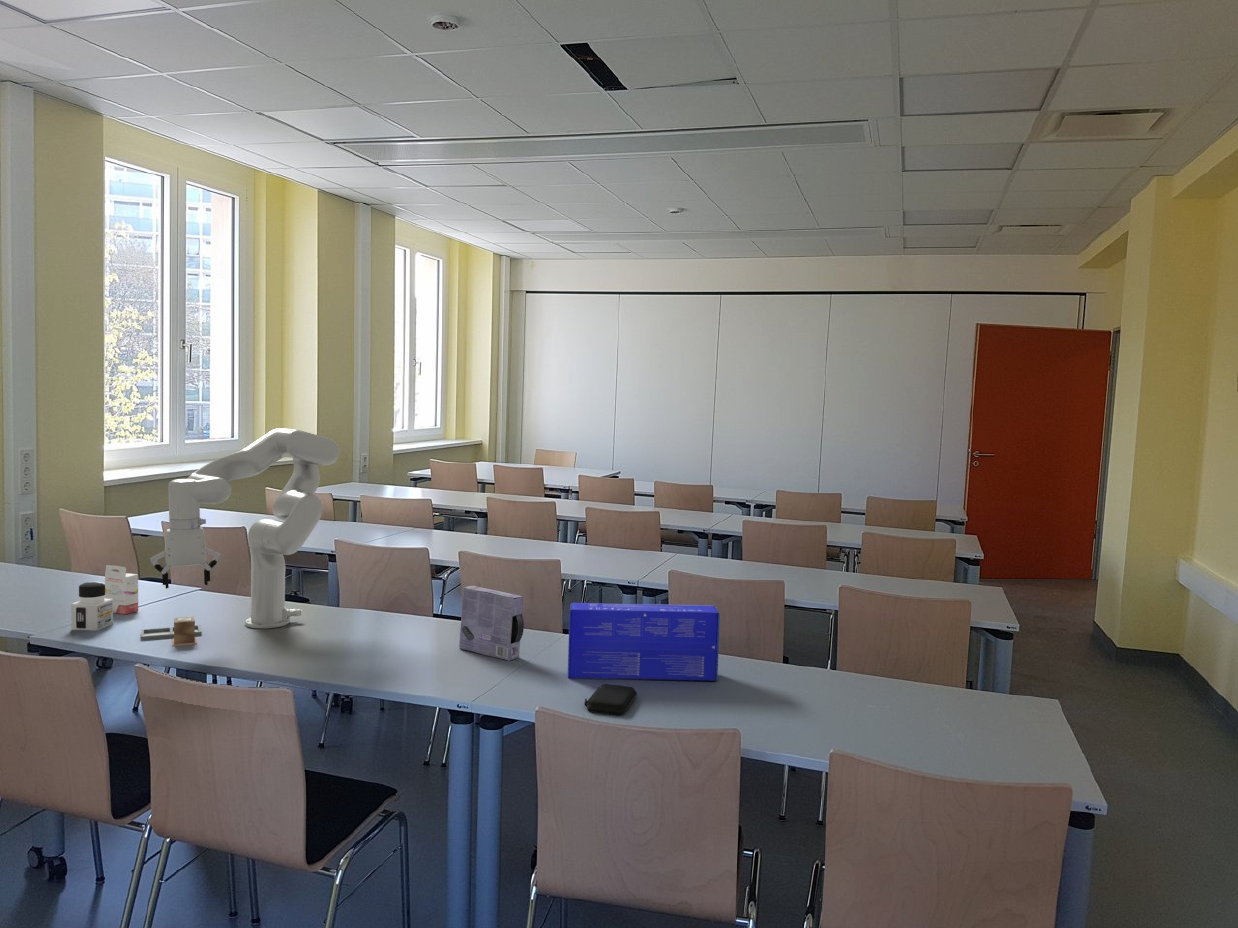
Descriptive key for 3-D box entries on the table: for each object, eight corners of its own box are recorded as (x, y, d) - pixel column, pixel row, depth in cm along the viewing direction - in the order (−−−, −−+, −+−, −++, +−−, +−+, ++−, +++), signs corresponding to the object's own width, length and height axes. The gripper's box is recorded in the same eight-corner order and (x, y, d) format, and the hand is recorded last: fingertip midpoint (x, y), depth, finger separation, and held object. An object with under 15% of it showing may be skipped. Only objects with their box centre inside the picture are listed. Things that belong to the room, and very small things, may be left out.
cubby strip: (200, 629, 256) (200, 624, 256) (201, 636, 249) (201, 631, 249) (141, 633, 248) (141, 629, 248) (140, 641, 242) (140, 636, 241)
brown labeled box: (194, 637, 245) (194, 616, 244) (194, 642, 241) (194, 620, 240) (174, 639, 243) (174, 617, 242) (174, 644, 238) (174, 622, 238)
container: (97, 631, 249) (97, 586, 248) (70, 630, 249) (70, 585, 248) (113, 624, 257) (113, 580, 256) (87, 623, 257) (87, 579, 256)
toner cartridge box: (712, 672, 235) (716, 604, 233) (717, 682, 226) (721, 612, 225) (567, 668, 233) (570, 600, 232) (567, 679, 225) (569, 608, 223)
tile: (195, 639, 246) (195, 636, 246) (196, 644, 240) (196, 642, 240) (171, 641, 243) (171, 638, 243) (172, 646, 238) (172, 644, 238)
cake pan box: (523, 657, 241) (525, 594, 239) (512, 662, 236) (514, 597, 235) (469, 645, 250) (471, 584, 249) (458, 649, 246) (459, 587, 245)
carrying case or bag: (595, 692, 216) (579, 713, 202) (596, 680, 216) (579, 700, 201) (638, 697, 214) (624, 718, 199) (638, 685, 213) (624, 705, 199)
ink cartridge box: (139, 611, 273) (139, 564, 271) (126, 614, 268) (126, 567, 267) (117, 608, 275) (117, 562, 274) (104, 611, 270) (103, 564, 269)
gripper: (218, 520, 247) (220, 579, 248) (148, 524, 238) (151, 585, 240) (220, 524, 240) (222, 585, 242) (148, 528, 232) (151, 592, 234)
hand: (186, 585), depth 241 cm, fingers open, 9 cm apart
